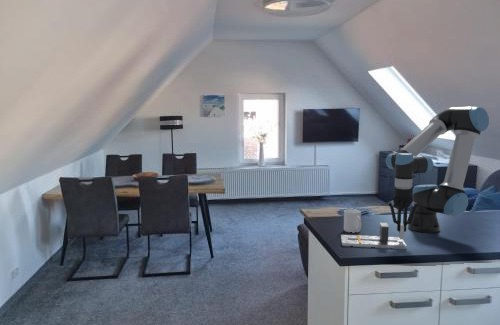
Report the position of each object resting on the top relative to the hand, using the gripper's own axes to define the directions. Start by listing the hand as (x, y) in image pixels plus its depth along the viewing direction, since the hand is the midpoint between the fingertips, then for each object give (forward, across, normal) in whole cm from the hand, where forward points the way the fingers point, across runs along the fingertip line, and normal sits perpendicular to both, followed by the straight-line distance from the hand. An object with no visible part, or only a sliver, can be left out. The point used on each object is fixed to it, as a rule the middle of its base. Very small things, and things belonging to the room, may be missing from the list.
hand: (401, 238), depth 191 cm
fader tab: (+1, +8, 0) cm, 8 cm away
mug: (+3, +20, -18) cm, 27 cm away
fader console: (+3, +13, 0) cm, 13 cm away
